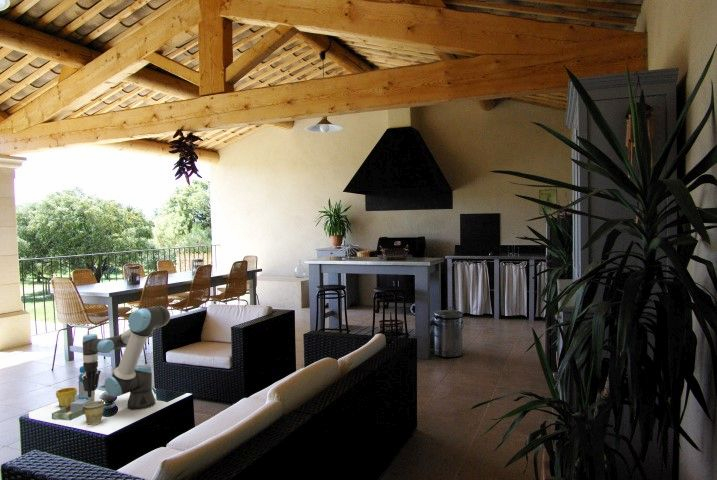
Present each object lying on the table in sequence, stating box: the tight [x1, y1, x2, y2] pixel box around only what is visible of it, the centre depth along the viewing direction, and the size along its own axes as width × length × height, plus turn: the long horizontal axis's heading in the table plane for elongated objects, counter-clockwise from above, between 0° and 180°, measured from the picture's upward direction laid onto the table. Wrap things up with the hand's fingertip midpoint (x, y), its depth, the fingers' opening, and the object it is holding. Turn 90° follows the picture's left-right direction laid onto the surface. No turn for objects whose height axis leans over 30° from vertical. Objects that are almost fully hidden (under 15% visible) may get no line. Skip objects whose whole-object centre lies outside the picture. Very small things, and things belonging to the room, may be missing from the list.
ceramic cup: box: [83, 400, 107, 426], centre depth 257 cm, size 13×10×10 cm
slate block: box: [70, 398, 92, 412], centre depth 272 cm, size 8×7×5 cm
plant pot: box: [55, 387, 78, 408], centre depth 283 cm, size 10×10×10 cm
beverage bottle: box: [77, 365, 88, 400], centre depth 296 cm, size 8×8×20 cm
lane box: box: [51, 398, 103, 421], centre depth 270 cm, size 12×25×4 cm, turn 168°
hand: (91, 401), depth 279 cm, fingers closed
